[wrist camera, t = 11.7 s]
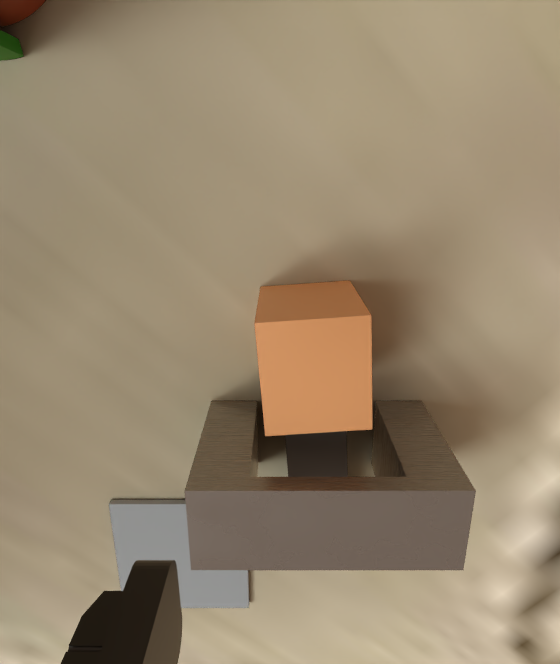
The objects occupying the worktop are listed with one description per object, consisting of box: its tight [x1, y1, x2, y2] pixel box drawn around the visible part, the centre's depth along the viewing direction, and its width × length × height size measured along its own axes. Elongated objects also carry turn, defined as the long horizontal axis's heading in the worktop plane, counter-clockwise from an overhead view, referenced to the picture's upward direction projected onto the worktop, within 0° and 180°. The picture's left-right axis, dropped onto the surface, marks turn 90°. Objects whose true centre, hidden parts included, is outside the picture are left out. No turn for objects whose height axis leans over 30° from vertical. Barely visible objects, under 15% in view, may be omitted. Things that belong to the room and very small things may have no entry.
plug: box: [255, 280, 372, 477], centre depth 23 cm, size 4×14×6 cm, turn 4°
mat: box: [109, 500, 249, 608], centre depth 29 cm, size 8×8×1 cm
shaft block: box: [185, 401, 476, 570], centre depth 23 cm, size 12×4×8 cm, turn 90°
